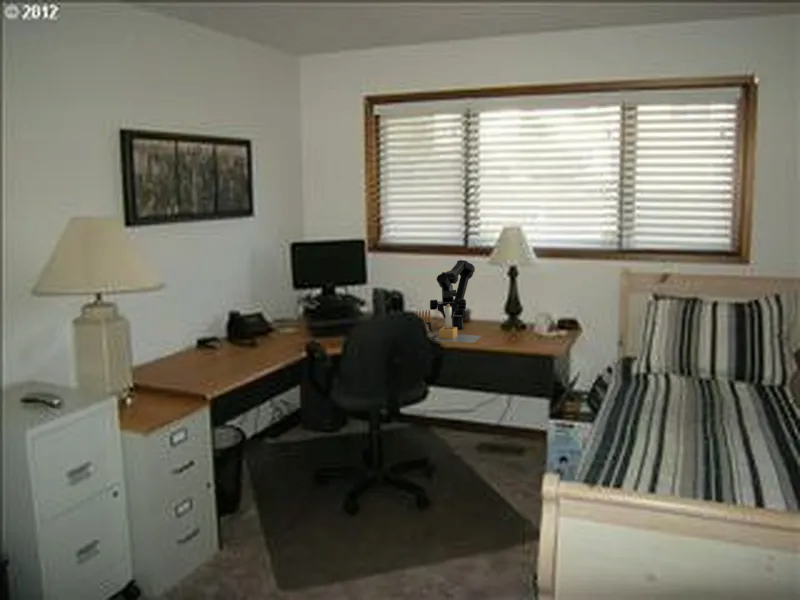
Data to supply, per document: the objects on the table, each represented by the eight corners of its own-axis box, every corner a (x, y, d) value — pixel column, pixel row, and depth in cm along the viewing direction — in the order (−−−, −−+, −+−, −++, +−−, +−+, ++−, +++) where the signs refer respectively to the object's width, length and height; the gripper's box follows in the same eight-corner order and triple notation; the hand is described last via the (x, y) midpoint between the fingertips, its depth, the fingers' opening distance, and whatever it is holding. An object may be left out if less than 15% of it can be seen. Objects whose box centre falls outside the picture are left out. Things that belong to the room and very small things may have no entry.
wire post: (446, 327, 365) (445, 303, 362) (452, 327, 363) (452, 303, 361) (444, 328, 361) (443, 304, 359) (450, 329, 360) (450, 305, 358)
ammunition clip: (413, 332, 379) (412, 311, 377) (412, 332, 381) (411, 310, 378) (431, 331, 382) (431, 309, 380) (430, 330, 384) (430, 308, 382)
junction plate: (441, 335, 372) (441, 324, 371) (481, 337, 364) (481, 327, 363) (431, 341, 357) (431, 331, 356) (473, 344, 349) (473, 334, 348)
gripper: (429, 284, 363) (430, 309, 354) (465, 284, 362) (467, 309, 353) (429, 296, 372) (430, 321, 363) (465, 296, 371) (466, 321, 362)
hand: (448, 318), depth 360 cm, fingers closed on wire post, 3 cm apart
